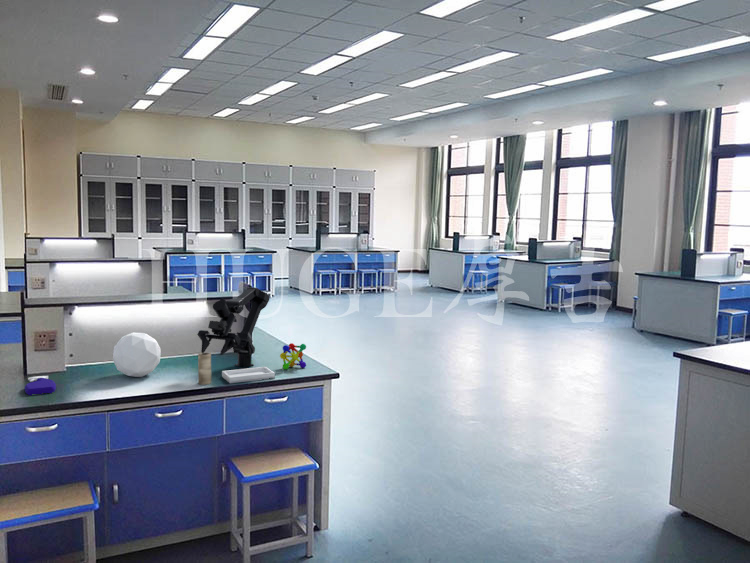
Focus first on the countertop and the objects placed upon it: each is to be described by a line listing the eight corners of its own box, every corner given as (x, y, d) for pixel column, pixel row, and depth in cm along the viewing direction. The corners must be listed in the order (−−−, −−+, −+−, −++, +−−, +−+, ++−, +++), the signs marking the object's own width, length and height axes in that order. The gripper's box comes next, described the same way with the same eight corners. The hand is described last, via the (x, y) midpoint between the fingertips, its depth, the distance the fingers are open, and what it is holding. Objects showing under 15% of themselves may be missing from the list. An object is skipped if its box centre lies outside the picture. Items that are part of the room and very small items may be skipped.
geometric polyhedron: (148, 392, 268) (161, 361, 258) (101, 378, 262) (112, 346, 252) (158, 362, 283) (171, 332, 273) (114, 348, 277) (125, 317, 267)
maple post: (196, 382, 259) (195, 353, 258) (206, 380, 263) (206, 351, 262) (202, 385, 256) (202, 355, 254) (213, 383, 259) (213, 353, 258)
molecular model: (283, 370, 283) (284, 345, 282) (278, 367, 289) (279, 342, 288) (307, 368, 288) (307, 344, 287) (301, 365, 295) (302, 341, 294)
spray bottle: (56, 386, 240) (53, 372, 262) (24, 389, 235) (24, 375, 256) (56, 393, 241) (53, 379, 262) (24, 397, 235) (24, 382, 256)
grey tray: (229, 383, 260) (229, 377, 260) (222, 376, 270) (222, 371, 270) (274, 378, 270) (274, 372, 269) (265, 371, 280) (265, 366, 280)
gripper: (199, 311, 269) (184, 341, 260) (237, 314, 264) (223, 345, 254) (209, 326, 277) (195, 355, 268) (246, 330, 272) (233, 359, 262)
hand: (211, 353), depth 263 cm, fingers open, 9 cm apart
